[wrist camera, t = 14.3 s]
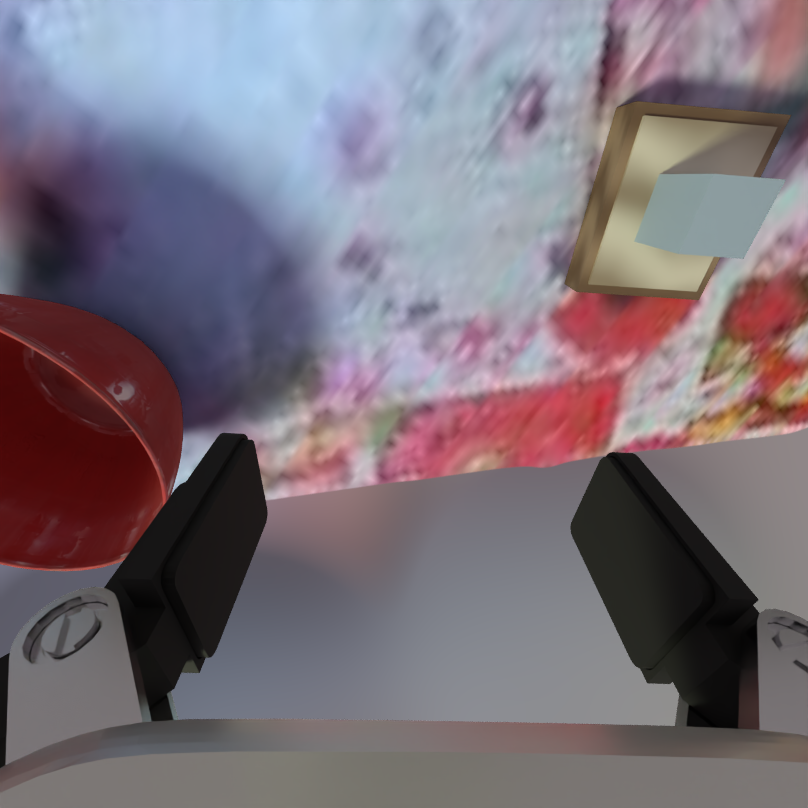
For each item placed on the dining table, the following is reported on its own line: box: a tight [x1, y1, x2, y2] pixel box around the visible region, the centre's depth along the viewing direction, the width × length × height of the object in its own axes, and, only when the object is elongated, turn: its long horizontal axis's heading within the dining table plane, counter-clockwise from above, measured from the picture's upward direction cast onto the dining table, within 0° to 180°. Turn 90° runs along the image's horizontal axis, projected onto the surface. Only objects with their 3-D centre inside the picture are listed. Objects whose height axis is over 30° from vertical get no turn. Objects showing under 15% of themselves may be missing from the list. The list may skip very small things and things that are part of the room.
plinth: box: [565, 101, 791, 300], centre depth 32 cm, size 14×12×3 cm
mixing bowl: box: [0, 294, 183, 571], centre depth 36 cm, size 28×28×16 cm
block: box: [634, 174, 785, 259], centre depth 28 cm, size 5×5×6 cm
